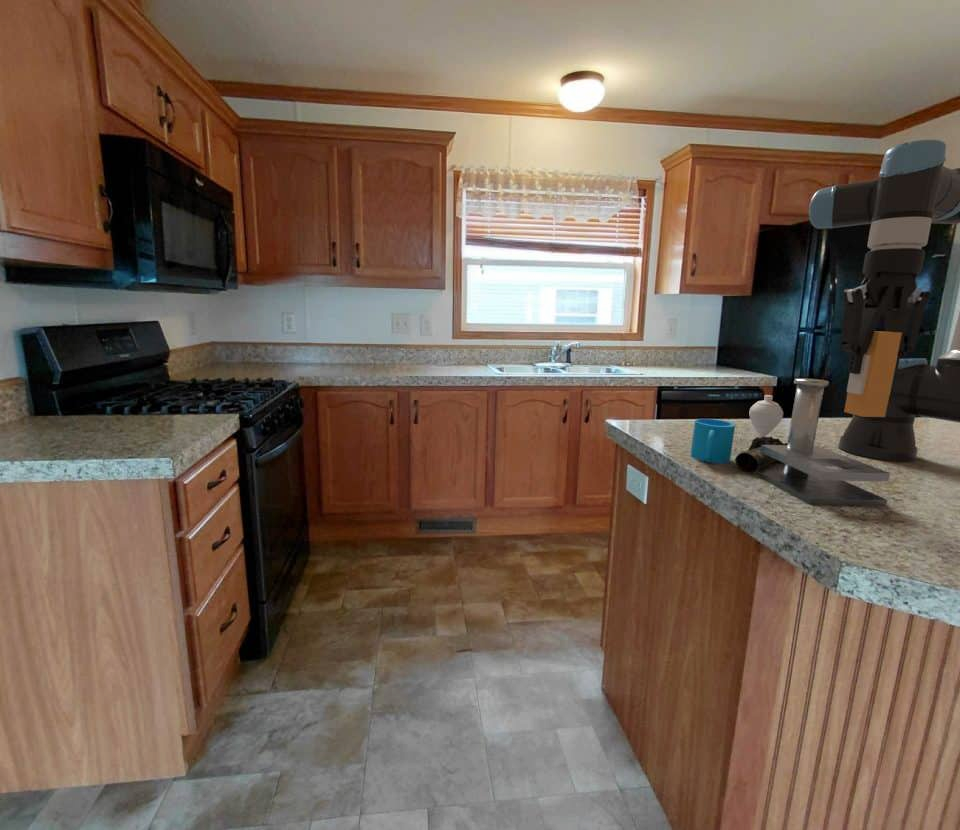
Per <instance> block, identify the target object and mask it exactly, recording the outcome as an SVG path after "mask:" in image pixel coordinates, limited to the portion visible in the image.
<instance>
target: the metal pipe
mask: <svg viewBox="0 0 960 830" xmlns="http://www.w3.org/2000/svg"><path fill="white" fill-rule="evenodd" d="M787 443H788V442H784V443H783V441H781V440H780V438H774V437H773V436H765V437H754V438H753V439H752V442H751V444H750V446H749V448H748V450H746V451H742V452H740V453H738V455H737V456H736V457H735V458H734V462H735V465H736V467H737V468H738V469H739V470H740V471H741V472H743V473H748V474H754V473H755V472H756V470H763V468H766V467H767V466H768V465H770V464H775V463H777V464H784V463H783V462H781V461H779V460H776V459H774V458H772V457H770V456H768V455H766V454H764V453H761V452H760V450H761V445H787Z"/></svg>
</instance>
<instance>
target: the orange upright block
mask: <svg viewBox="0 0 960 830" xmlns="http://www.w3.org/2000/svg"><path fill="white" fill-rule="evenodd" d="M901 335H902V332H885V330H884V331H883V330H882V331H881V330H880V331H878V330H875V332H874V334H873V337H872V339H871V342H870V345H869V347H868V350H867V352H866V354H864V355H870V356H871V357H870V363H869V368H868V373H867V378H866V384H865V389H864V394H863V395H859V394H854V393H849V392H846V393H847V394H846V400H845V404H844V410H843V412H844V413H847V414H850V415H853V414H854V415H858V416H862V417H885V415H886V410H887V405H888V400H889V395H890V390H891V385H892V380H893V375H894V370H895V365H896V360H897V355H898V350H899V345H900V340H901ZM859 346H860V345H859Z"/></svg>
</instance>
